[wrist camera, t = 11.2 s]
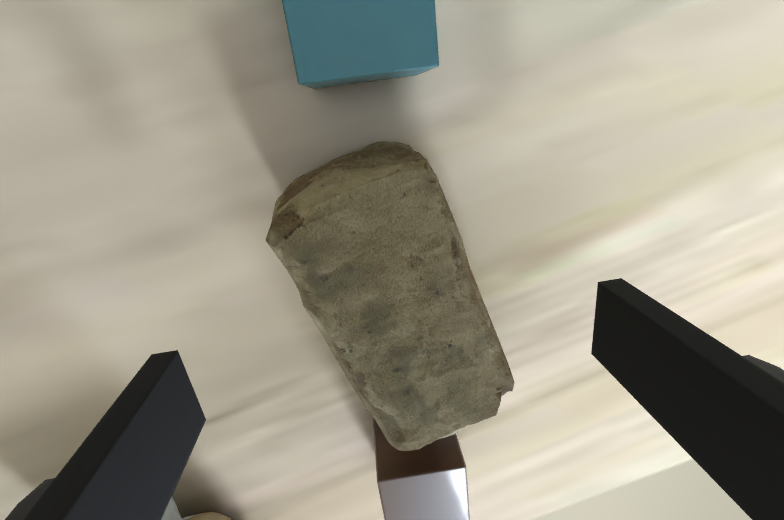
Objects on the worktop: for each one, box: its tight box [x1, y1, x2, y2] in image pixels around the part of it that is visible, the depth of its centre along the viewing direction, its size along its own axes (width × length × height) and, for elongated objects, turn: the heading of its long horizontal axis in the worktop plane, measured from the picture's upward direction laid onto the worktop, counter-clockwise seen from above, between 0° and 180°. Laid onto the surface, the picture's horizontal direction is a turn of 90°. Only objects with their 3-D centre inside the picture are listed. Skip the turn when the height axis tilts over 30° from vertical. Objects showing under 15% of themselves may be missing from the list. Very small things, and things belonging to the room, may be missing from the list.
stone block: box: [266, 142, 514, 451], centre depth 15 cm, size 6×12×5 cm, turn 24°
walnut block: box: [373, 417, 470, 520], centre depth 20 cm, size 4×4×4 cm
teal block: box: [282, 0, 439, 88], centre depth 12 cm, size 4×4×4 cm
